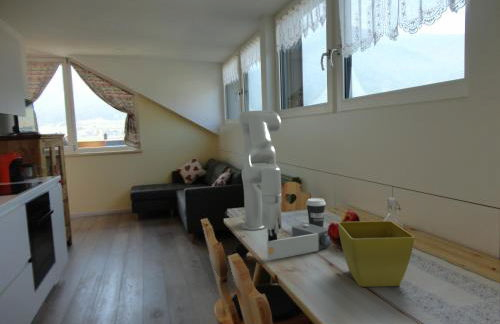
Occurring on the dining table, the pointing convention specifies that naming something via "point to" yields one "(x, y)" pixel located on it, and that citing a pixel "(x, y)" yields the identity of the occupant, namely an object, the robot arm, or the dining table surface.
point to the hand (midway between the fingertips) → (272, 244)
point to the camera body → (312, 229)
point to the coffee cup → (316, 211)
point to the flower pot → (376, 251)
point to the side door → (292, 246)
